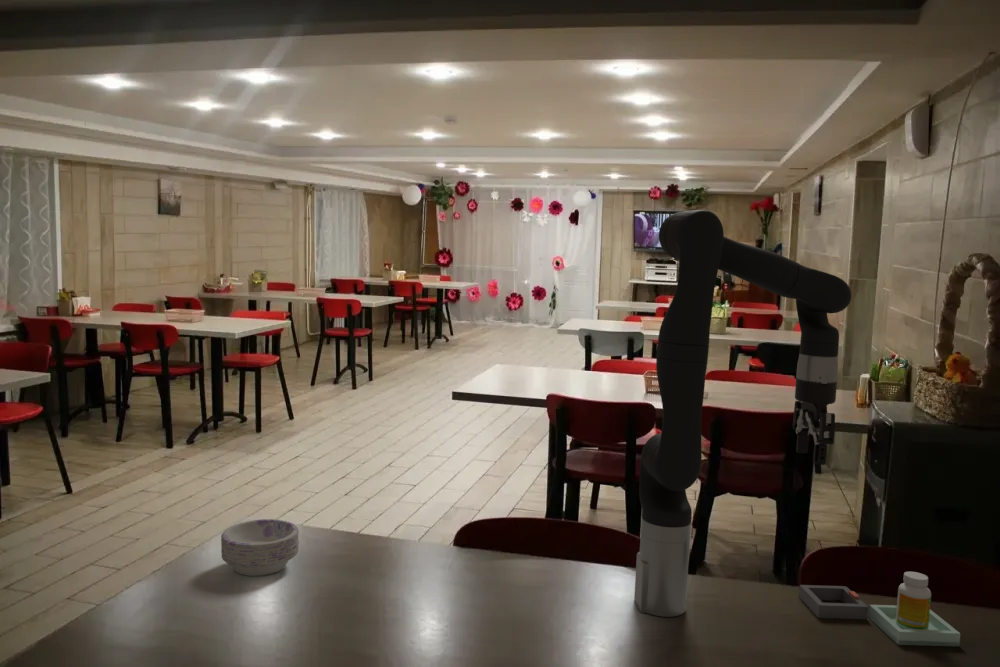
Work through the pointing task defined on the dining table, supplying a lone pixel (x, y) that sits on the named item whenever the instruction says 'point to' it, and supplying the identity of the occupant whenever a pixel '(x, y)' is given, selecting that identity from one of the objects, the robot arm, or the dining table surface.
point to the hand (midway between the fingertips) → (810, 458)
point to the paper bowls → (259, 546)
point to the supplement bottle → (913, 602)
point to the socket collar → (846, 610)
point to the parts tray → (934, 636)
